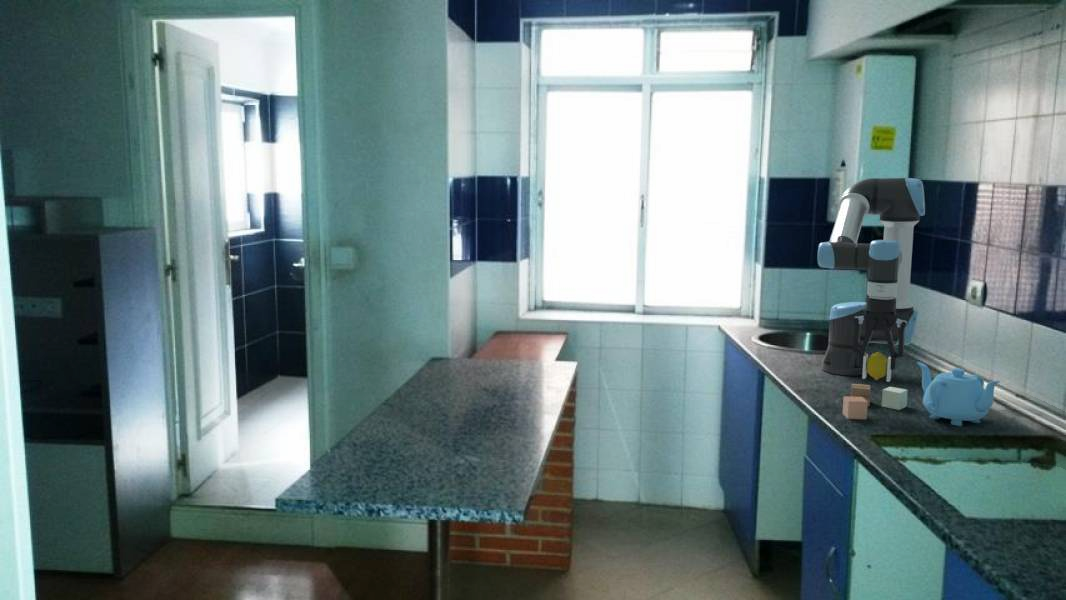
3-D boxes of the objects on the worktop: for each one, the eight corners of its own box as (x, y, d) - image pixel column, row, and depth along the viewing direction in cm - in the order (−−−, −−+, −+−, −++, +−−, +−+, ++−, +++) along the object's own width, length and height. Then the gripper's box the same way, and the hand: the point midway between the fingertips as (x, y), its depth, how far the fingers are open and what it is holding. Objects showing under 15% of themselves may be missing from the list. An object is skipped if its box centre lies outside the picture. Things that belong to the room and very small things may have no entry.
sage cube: (888, 403, 231) (889, 386, 230) (906, 406, 228) (907, 389, 227) (881, 406, 228) (882, 389, 227) (899, 410, 224) (900, 393, 223)
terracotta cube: (842, 413, 221) (843, 396, 220) (861, 414, 220) (862, 396, 220) (847, 419, 216) (848, 401, 215) (866, 419, 215) (867, 401, 215)
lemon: (889, 383, 218) (891, 354, 217) (867, 382, 219) (869, 354, 218) (884, 377, 223) (886, 350, 222) (863, 376, 225) (865, 349, 223)
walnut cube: (850, 400, 235) (851, 383, 234) (868, 401, 233) (870, 385, 232) (850, 404, 230) (851, 387, 229) (869, 406, 228) (870, 389, 227)
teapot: (995, 433, 204) (1000, 379, 202) (911, 422, 212) (915, 371, 210) (992, 416, 218) (996, 366, 216) (913, 407, 227) (917, 359, 225)
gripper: (843, 296, 219) (838, 378, 223) (917, 301, 209) (911, 386, 213) (848, 292, 225) (843, 371, 229) (920, 297, 216) (914, 380, 220)
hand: (876, 378), depth 221 cm, fingers closed on lemon, 5 cm apart
